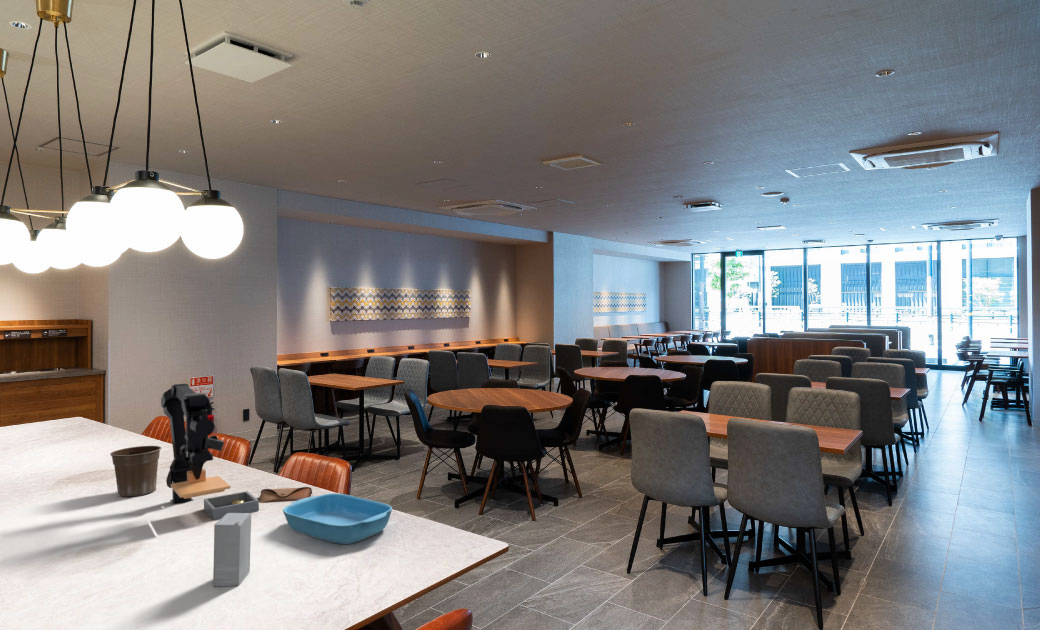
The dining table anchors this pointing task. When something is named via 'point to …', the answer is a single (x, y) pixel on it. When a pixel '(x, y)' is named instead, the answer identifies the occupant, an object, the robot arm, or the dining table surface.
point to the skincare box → (232, 549)
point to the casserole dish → (337, 517)
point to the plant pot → (136, 470)
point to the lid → (199, 485)
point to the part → (238, 501)
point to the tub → (230, 504)
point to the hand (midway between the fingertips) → (196, 478)
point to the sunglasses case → (284, 494)
